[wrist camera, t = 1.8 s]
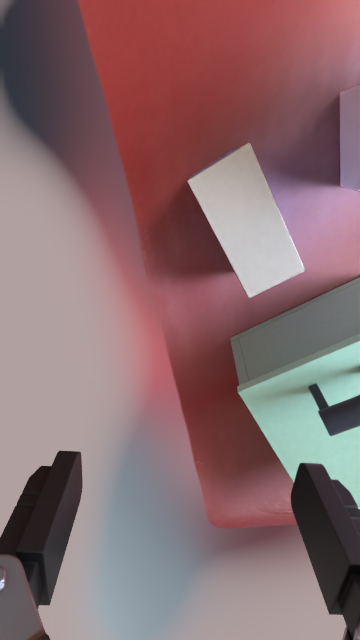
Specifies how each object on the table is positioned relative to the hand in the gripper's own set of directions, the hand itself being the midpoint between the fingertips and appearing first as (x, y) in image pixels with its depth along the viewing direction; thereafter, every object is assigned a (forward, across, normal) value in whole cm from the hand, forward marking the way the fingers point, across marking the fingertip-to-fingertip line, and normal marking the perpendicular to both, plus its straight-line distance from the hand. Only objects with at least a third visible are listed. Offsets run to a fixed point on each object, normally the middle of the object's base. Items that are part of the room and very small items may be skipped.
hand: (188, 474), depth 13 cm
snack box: (+23, -5, -7) cm, 25 cm away
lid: (+14, -17, +10) cm, 24 cm away
